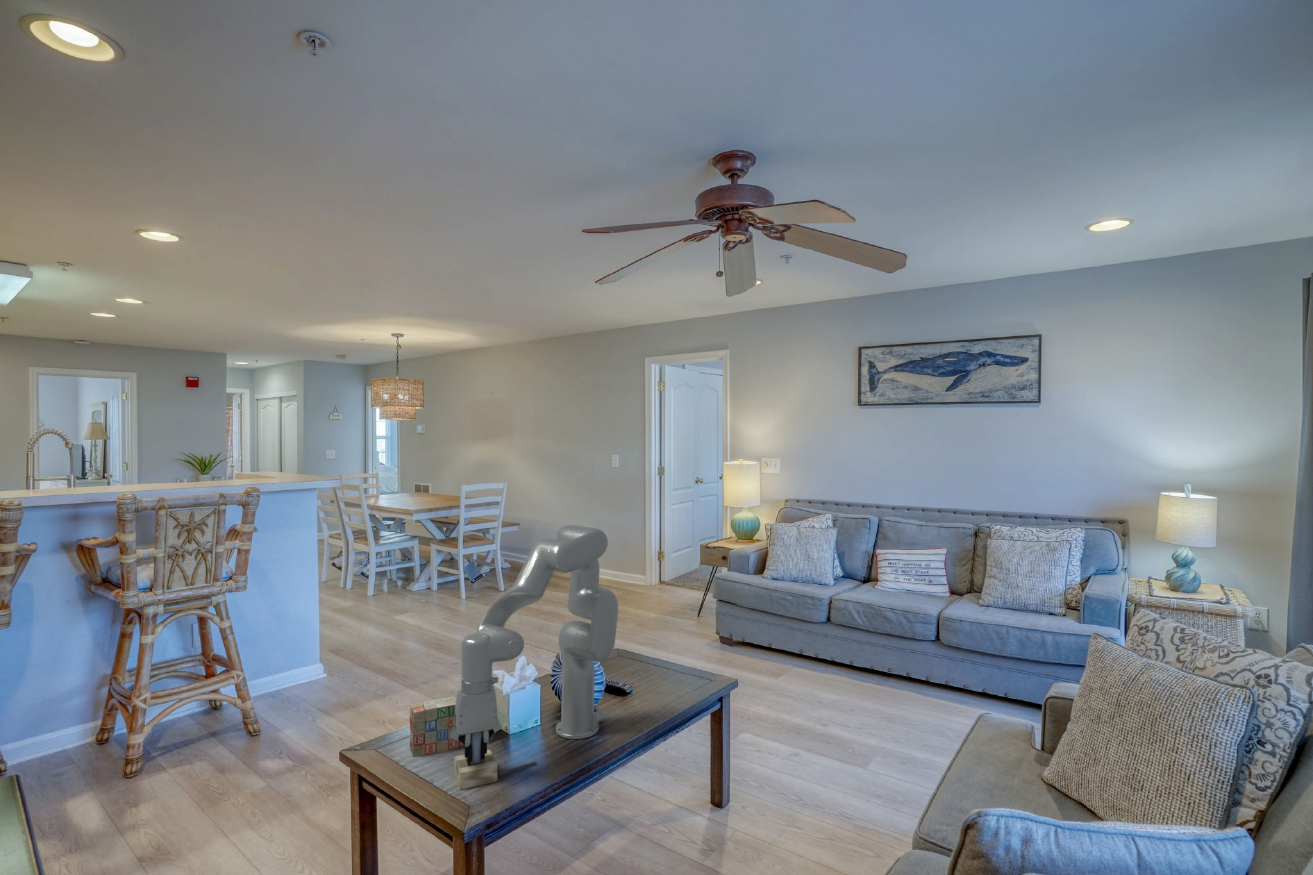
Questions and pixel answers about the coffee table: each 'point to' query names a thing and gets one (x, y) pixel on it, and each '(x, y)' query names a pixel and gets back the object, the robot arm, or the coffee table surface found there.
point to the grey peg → (476, 748)
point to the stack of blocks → (433, 726)
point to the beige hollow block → (475, 771)
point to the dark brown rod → (517, 768)
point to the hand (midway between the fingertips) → (475, 757)
